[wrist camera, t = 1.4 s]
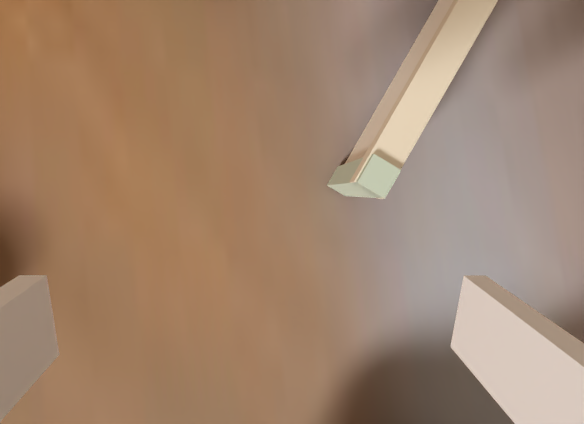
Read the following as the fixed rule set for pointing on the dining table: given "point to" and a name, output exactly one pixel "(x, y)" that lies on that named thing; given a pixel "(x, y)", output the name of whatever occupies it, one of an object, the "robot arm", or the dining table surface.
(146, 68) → the dining table surface
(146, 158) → the dining table surface
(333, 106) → the dining table surface
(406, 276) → the dining table surface
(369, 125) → the gate
